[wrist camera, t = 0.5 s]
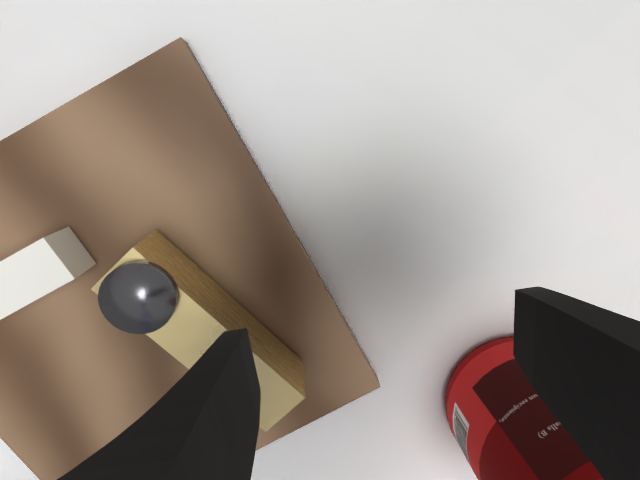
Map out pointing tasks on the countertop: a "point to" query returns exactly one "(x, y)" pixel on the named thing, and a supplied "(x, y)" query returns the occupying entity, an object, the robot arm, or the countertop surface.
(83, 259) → the white rectangular block
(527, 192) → the countertop surface
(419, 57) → the countertop surface
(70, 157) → the plate
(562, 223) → the countertop surface
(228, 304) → the bar
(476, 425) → the canned food
